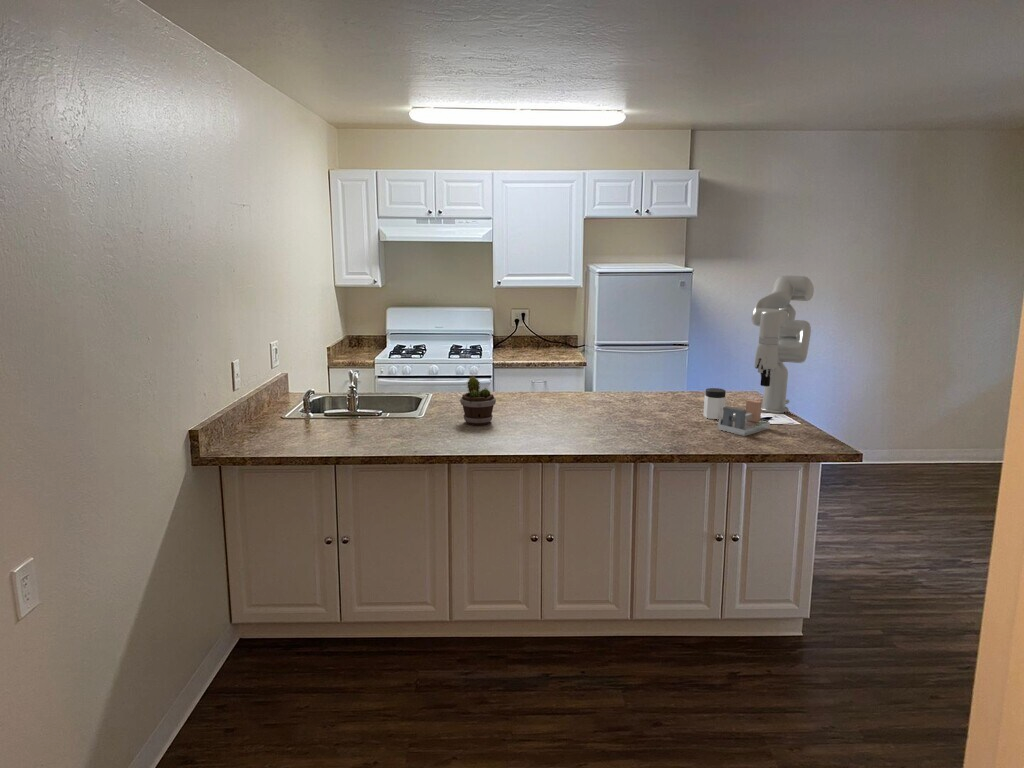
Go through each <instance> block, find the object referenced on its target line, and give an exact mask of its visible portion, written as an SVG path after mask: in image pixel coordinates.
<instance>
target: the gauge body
mask: <svg viewBox="0 0 1024 768" xmlns="http://www.w3.org/2000/svg"><path fill="white" fill-rule="evenodd" d="M723 410H724V411H723V418H721V419H719V420H717V421H718V423H717V430H718V429H719V430H718V431H721V430H723V431H722V432H725V431H727V432H726V433H729V432H731V433H730V434H733V433H734V434H733V435H739V436H742V437H747V436H748V435H752V434H757V433H759V432H762V431H765V430H769V429H770V425H771V422H765V421H761V420H760V421H758V422H753V421H749V420H745V415H746V409H742V408H738V407H733V406H729V405H727V406H725V407H723ZM734 417H735V421H734Z"/></svg>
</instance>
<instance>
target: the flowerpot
mask: <svg viewBox="0 0 1024 768" xmlns="http://www.w3.org/2000/svg"><path fill="white" fill-rule="evenodd" d="M473 374H474V373H472V375H470V376H469V378H468V379H467V381H466V384H467V385H466V388H467V390H466V391H467V392H465V394H462V396H461V397H460V400H459V402H460V405H461V406H462V409H463V419H464V422H465V423H466V424H467V425H470V426H485V425H488V424H490V423H491V422H492V420H493V410H494V405H495V404H496V402H497V401H496V400H497V399H496V397H495V396H494V394H491V390H489V388H487V387H484V388H483V389H481V385H480V384H481V383H480V379H479V378H476V377H477V376H475V375H473Z"/></svg>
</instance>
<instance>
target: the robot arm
mask: <svg viewBox="0 0 1024 768" xmlns="http://www.w3.org/2000/svg"><path fill="white" fill-rule="evenodd" d="M814 292H815V291H814V284H813V282H812V281H811V279H810V278H809V277H808V276H805V275H781V276H779V277H777V278H776V280H775V282H774V284H773V285H772V288H771V292H770V293H769V294H767V295H765V296H764V297H761V298H760V299H759V300H757V302H756V303H755V305H754V307H753V310H752V313H751V322H752V324H753V325H754V326H755V327H759V334H758V335H759V336H758V337H759V338H758V345H757V347H756V351H755V357H754V359H755V360H754V369H757V373H759V374H760V386H761V387H763V397H762V404H761V412H765V413H772V414H786V413H788V412H789V410H790V408H789V407H787V406H786V405H788V404H790V399H787V389H788V376H789V371H788V369H787V367H786V365H785V363H793V364H802V363H804V362H805V361H806V360H807V357H808V356H807V355H808V351H809V345H810V340H811V333H812V329H811V328H812V327H811V324H810V322H808V321H807V320H804V319H803V320H802V319H801V320H800V319H796V316H797V315H796V310H795V308H794V307H793V306H792V304H791V301H797V302H798V301H799V302H808V301H810V300H812V298H813V296H814ZM784 412H785V413H784Z"/></svg>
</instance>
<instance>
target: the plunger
mask: <svg viewBox="0 0 1024 768" xmlns="http://www.w3.org/2000/svg"><path fill="white" fill-rule="evenodd" d="M745 402H746V403H745V405H746V406H745V410H746V415H745V420H749V421H753V422H758V421H764V422H769V421H770V420H769V419H765V418H761V414H762V411H761V405H763V401H760V400H755V399H747V400H746V401H745ZM734 421H735V417H734Z"/></svg>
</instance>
